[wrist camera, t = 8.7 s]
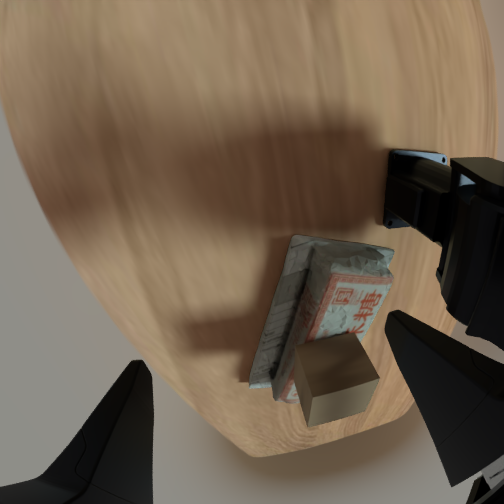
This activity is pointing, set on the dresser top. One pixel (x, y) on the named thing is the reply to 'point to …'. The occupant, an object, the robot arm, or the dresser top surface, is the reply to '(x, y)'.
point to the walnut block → (333, 378)
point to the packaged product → (318, 304)
